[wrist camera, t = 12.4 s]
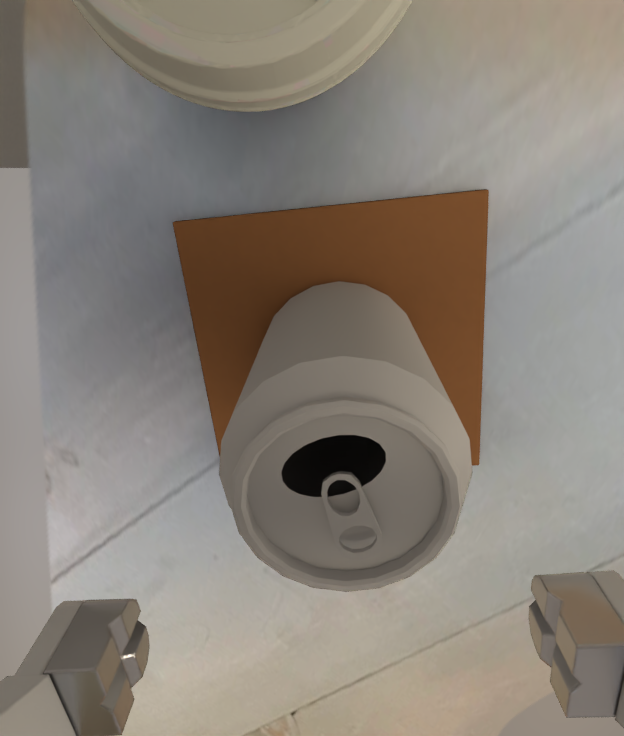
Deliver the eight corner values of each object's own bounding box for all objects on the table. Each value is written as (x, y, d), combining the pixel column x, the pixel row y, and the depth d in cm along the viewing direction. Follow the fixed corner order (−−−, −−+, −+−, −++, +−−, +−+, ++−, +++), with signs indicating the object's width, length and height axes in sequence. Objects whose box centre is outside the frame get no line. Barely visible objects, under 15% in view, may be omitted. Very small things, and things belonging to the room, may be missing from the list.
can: (391, 254, 22) (451, 340, 11) (433, 395, 24) (516, 581, 13) (240, 307, 23) (155, 433, 12) (296, 436, 26) (267, 638, 15)
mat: (225, 476, 27) (224, 480, 27) (174, 221, 22) (172, 222, 22) (477, 461, 26) (479, 465, 26) (486, 189, 21) (488, 189, 21)
